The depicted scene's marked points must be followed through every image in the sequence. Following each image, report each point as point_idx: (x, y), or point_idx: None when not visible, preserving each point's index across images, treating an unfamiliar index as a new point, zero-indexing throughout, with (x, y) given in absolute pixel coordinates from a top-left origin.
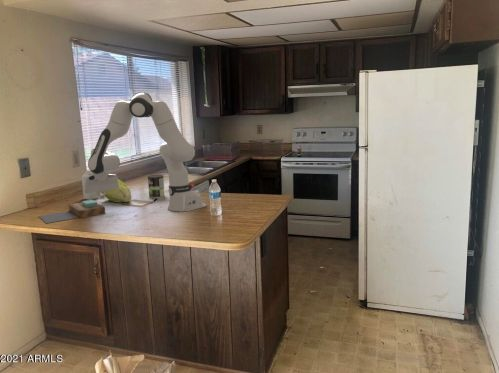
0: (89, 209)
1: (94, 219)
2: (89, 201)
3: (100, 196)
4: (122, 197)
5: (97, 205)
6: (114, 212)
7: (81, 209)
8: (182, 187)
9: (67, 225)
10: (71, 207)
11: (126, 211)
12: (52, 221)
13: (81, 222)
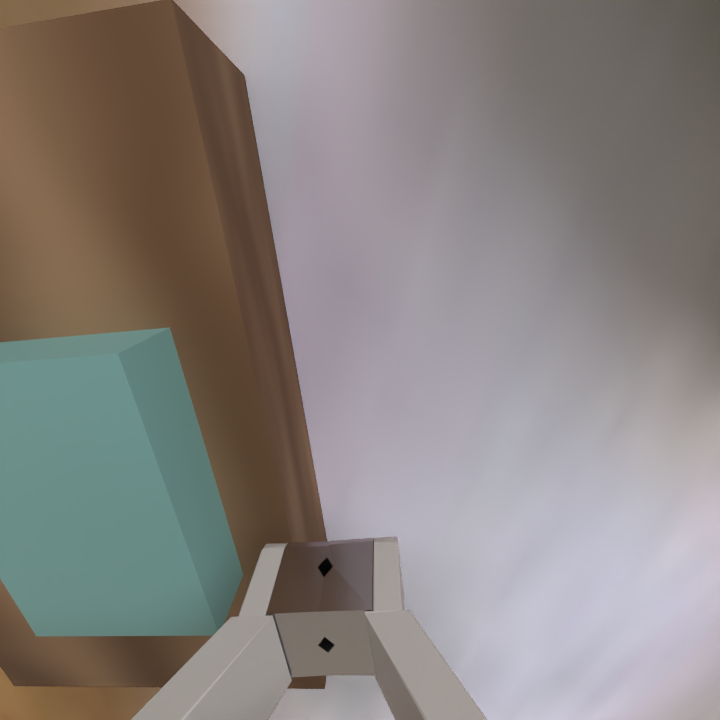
0: (130, 686)
1: None
2: (64, 493)
3: (281, 663)
4: None
5: (242, 575)
6: (437, 600)
7: (25, 636)
8: None
9: (16, 710)
10: None
11: (559, 634)
12: None
13: (112, 703)
